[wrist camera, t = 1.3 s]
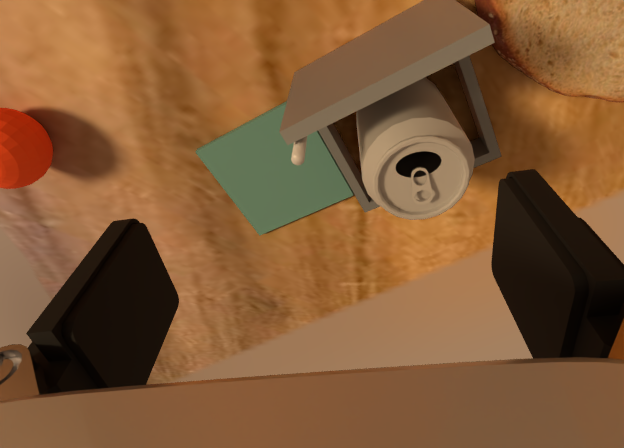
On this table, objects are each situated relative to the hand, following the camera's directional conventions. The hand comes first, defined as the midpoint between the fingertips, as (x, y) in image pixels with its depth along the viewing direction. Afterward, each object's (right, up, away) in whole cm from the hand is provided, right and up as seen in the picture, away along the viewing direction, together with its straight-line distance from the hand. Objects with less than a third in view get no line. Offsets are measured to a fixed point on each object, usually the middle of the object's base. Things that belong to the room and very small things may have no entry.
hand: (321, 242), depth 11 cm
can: (+7, +10, +26) cm, 29 cm away
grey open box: (+7, +10, +25) cm, 28 cm away
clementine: (-27, +9, +29) cm, 40 cm away
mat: (-4, +6, +29) cm, 30 cm away
